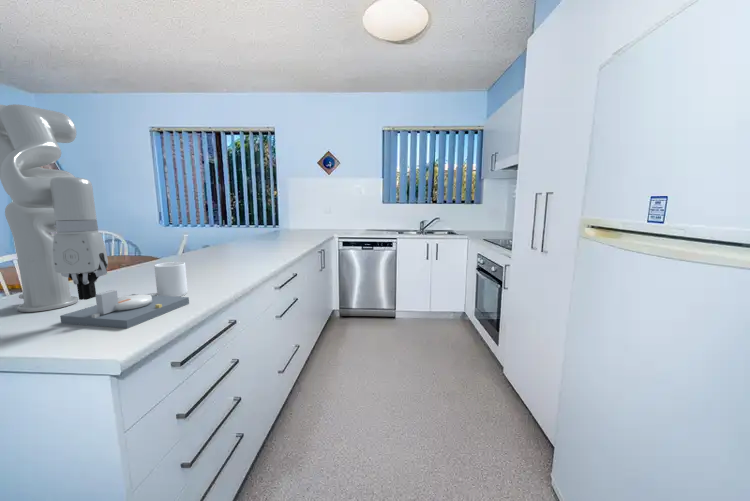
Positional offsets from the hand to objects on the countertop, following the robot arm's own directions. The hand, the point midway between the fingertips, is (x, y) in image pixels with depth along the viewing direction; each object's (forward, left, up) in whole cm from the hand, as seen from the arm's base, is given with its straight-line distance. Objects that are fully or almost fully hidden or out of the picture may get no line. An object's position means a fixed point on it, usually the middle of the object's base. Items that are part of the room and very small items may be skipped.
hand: (87, 298), depth 80 cm
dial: (+5, +6, -4) cm, 8 cm away
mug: (+1, +25, -6) cm, 26 cm away
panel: (+5, +7, -6) cm, 10 cm away
